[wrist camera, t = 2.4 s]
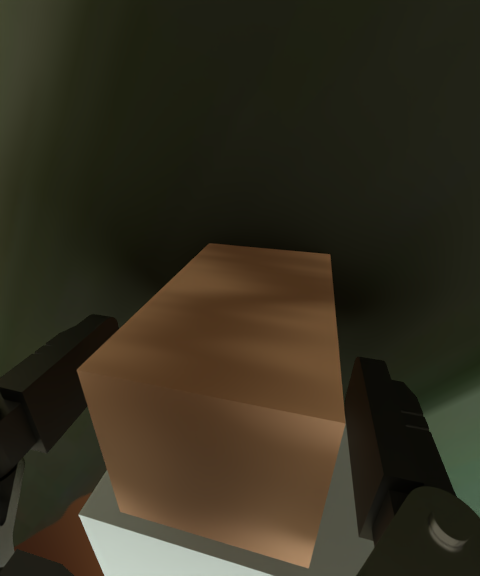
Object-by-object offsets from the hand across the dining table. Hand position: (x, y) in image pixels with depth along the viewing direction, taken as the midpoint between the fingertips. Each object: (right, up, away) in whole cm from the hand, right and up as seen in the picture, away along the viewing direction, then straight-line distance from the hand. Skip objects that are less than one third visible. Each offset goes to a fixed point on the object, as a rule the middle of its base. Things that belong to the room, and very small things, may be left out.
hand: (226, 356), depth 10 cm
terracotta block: (+2, +2, +3) cm, 4 cm away
